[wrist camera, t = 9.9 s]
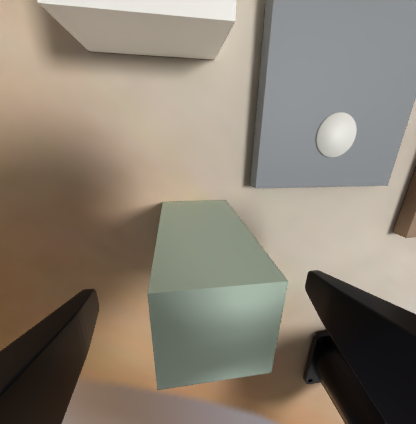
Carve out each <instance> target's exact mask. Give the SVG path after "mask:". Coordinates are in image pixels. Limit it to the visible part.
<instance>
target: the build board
mask: <svg viewBox="0 0 416 424" xmlns="http://www.w3.org/2000/svg"><path fill="white" fill-rule="evenodd" d="M393 232H394V233H396V234H399V235H401V236H403V237H405V238H411V237H416V168H415V171H414V174H413V177H412V180H411V183H410V185H409V188H408V191H407V194H406V197H405V199H404V202H403V205H402V208H401V211H400V213H399V216H398V219H397V222H396V225H395V228H394V230H393Z"/></svg>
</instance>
